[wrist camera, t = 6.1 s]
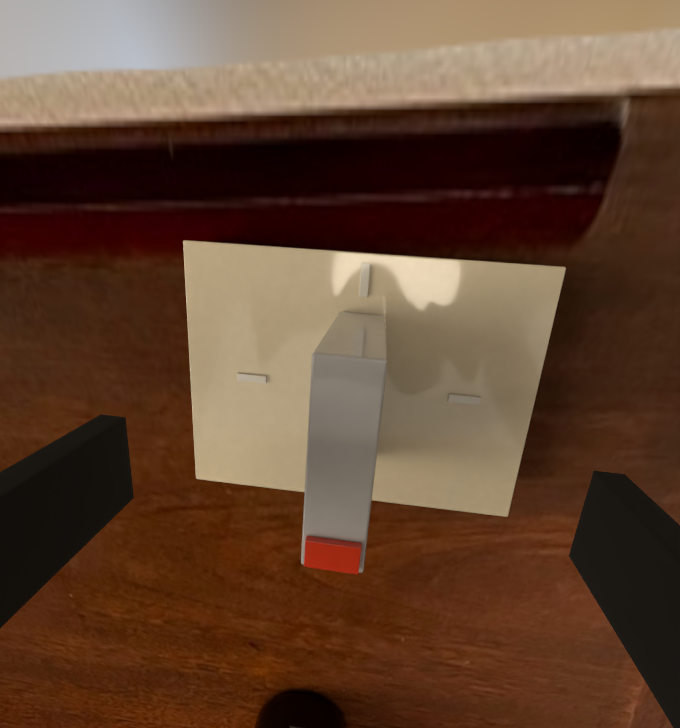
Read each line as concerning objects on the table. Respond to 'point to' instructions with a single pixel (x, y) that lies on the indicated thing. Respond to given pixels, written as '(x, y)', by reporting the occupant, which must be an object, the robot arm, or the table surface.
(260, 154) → the table surface
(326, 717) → the supplement bottle
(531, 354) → the sink deck
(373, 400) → the tap lever
